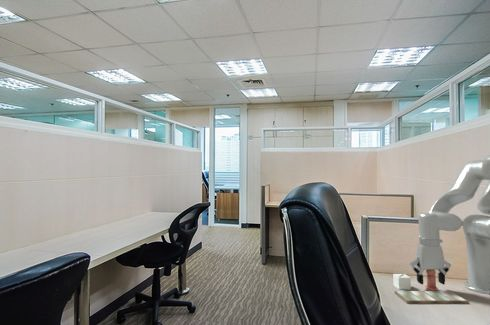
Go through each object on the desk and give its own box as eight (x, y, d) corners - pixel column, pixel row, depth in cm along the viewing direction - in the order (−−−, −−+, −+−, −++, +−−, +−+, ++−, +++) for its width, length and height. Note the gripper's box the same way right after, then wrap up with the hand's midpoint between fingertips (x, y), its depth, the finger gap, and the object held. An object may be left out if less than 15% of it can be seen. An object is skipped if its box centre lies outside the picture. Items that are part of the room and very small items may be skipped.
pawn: (433, 287, 128) (432, 266, 128) (440, 291, 124) (439, 269, 124) (423, 287, 128) (422, 266, 129) (429, 291, 124) (428, 269, 124)
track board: (451, 293, 122) (450, 290, 122) (468, 303, 112) (468, 300, 112) (394, 293, 122) (394, 290, 122) (407, 303, 112) (407, 300, 112)
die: (404, 285, 132) (404, 273, 132) (410, 289, 127) (410, 277, 127) (393, 285, 132) (393, 273, 132) (399, 289, 127) (398, 277, 127)
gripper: (444, 240, 130) (446, 280, 129) (404, 240, 131) (405, 280, 130) (455, 244, 123) (457, 286, 122) (413, 244, 123) (415, 286, 122)
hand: (431, 283), depth 126 cm, fingers open, 8 cm apart
